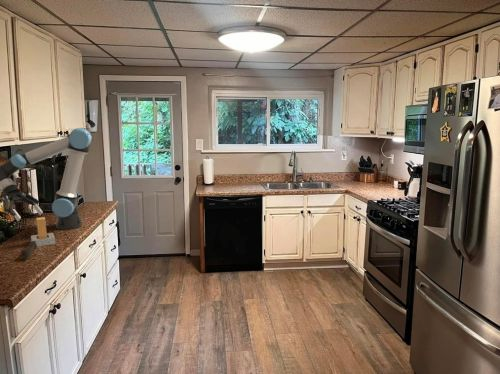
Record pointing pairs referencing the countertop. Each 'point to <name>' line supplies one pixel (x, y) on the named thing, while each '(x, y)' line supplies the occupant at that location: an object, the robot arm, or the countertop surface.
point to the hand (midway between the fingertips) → (30, 216)
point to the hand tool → (29, 250)
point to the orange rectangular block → (41, 227)
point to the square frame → (43, 240)
